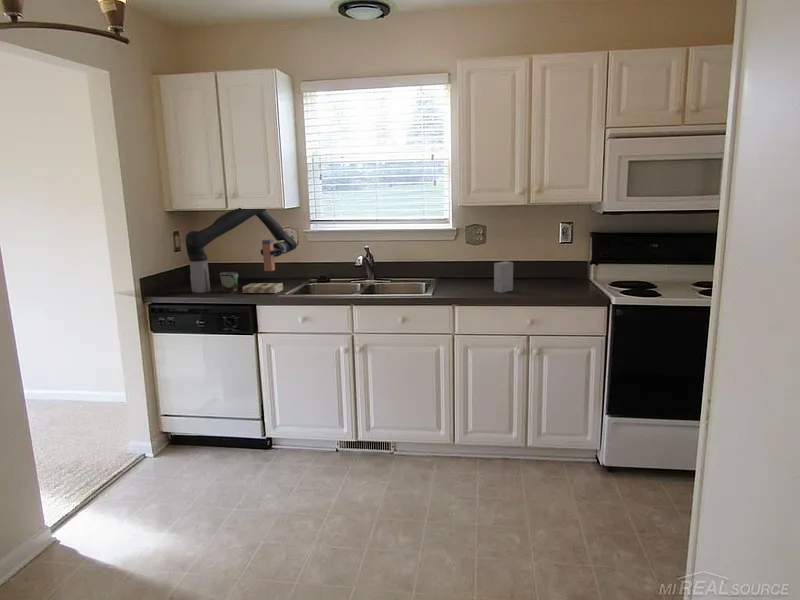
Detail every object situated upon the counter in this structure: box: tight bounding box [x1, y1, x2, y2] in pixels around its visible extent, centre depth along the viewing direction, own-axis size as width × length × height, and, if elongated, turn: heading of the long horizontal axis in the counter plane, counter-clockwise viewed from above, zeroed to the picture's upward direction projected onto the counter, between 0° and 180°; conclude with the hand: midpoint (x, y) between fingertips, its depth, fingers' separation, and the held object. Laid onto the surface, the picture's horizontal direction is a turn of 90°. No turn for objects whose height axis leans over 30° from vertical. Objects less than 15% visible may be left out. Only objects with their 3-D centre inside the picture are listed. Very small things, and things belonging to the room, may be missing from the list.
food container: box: [219, 271, 239, 293], centre depth 309 cm, size 12×6×10 cm, turn 56°
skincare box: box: [493, 260, 514, 294], centre depth 285 cm, size 8×6×15 cm
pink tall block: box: [261, 239, 276, 272], centre depth 313 cm, size 4×4×17 cm
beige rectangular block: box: [242, 282, 284, 294], centre depth 304 cm, size 18×12×4 cm, turn 81°
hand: (266, 253), depth 310 cm, fingers closed on pink tall block, 4 cm apart
